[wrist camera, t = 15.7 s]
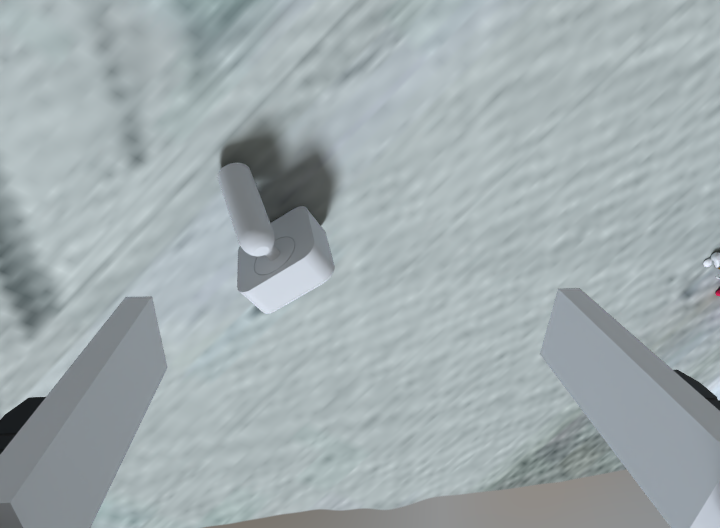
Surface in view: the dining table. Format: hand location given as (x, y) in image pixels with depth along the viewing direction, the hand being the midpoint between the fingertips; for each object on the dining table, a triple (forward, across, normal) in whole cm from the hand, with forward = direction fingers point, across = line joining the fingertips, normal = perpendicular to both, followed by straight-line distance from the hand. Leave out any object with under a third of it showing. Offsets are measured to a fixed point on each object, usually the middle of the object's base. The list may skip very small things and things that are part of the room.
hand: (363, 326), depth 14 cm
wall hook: (+29, -6, -6) cm, 30 cm away
